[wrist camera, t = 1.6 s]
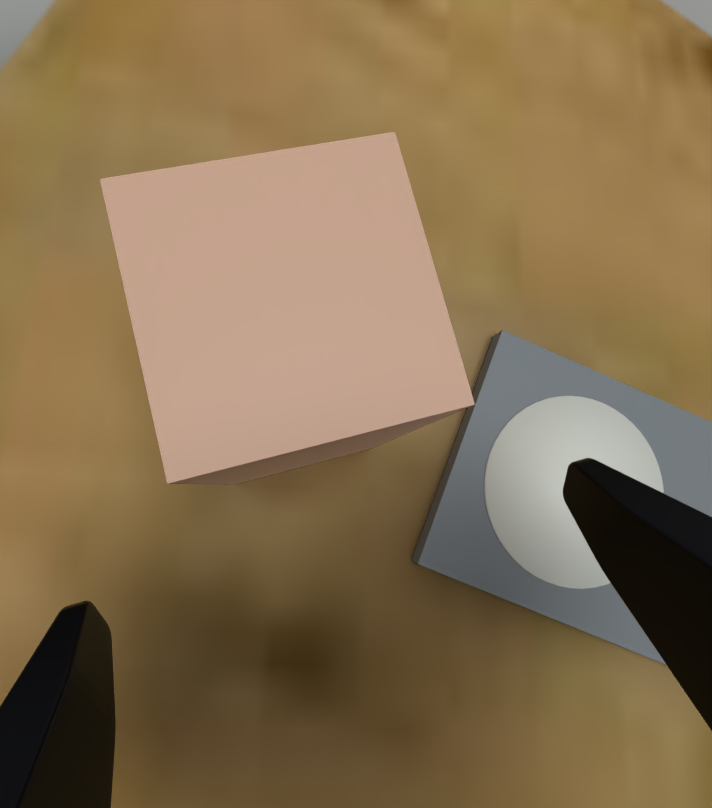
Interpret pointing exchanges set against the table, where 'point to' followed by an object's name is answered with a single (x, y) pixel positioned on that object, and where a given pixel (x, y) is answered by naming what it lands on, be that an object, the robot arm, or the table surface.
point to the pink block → (283, 308)
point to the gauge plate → (553, 483)
